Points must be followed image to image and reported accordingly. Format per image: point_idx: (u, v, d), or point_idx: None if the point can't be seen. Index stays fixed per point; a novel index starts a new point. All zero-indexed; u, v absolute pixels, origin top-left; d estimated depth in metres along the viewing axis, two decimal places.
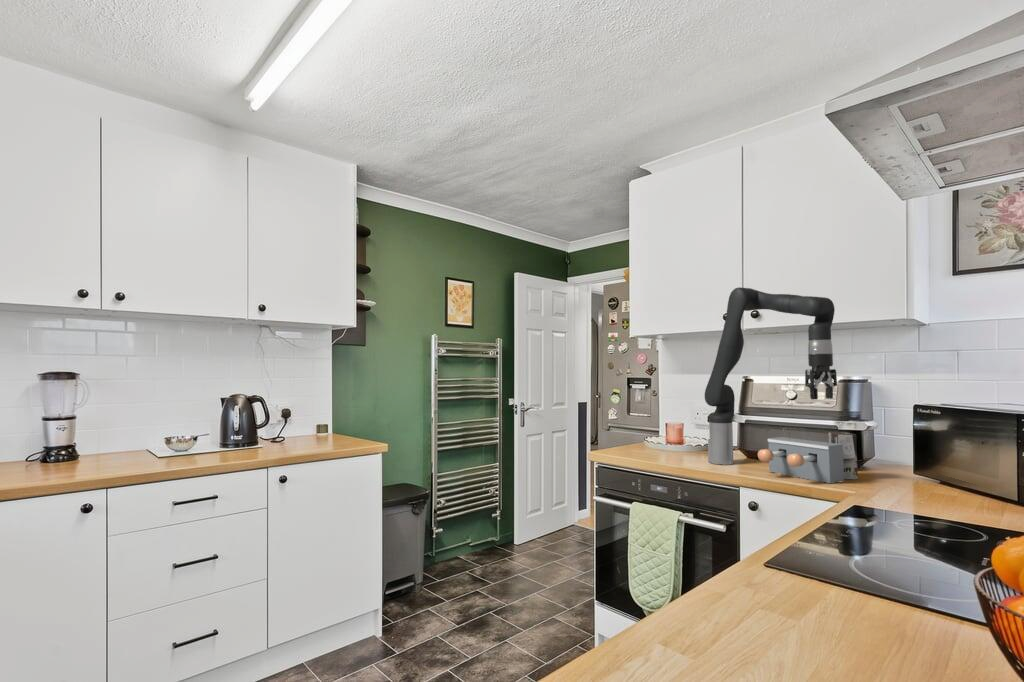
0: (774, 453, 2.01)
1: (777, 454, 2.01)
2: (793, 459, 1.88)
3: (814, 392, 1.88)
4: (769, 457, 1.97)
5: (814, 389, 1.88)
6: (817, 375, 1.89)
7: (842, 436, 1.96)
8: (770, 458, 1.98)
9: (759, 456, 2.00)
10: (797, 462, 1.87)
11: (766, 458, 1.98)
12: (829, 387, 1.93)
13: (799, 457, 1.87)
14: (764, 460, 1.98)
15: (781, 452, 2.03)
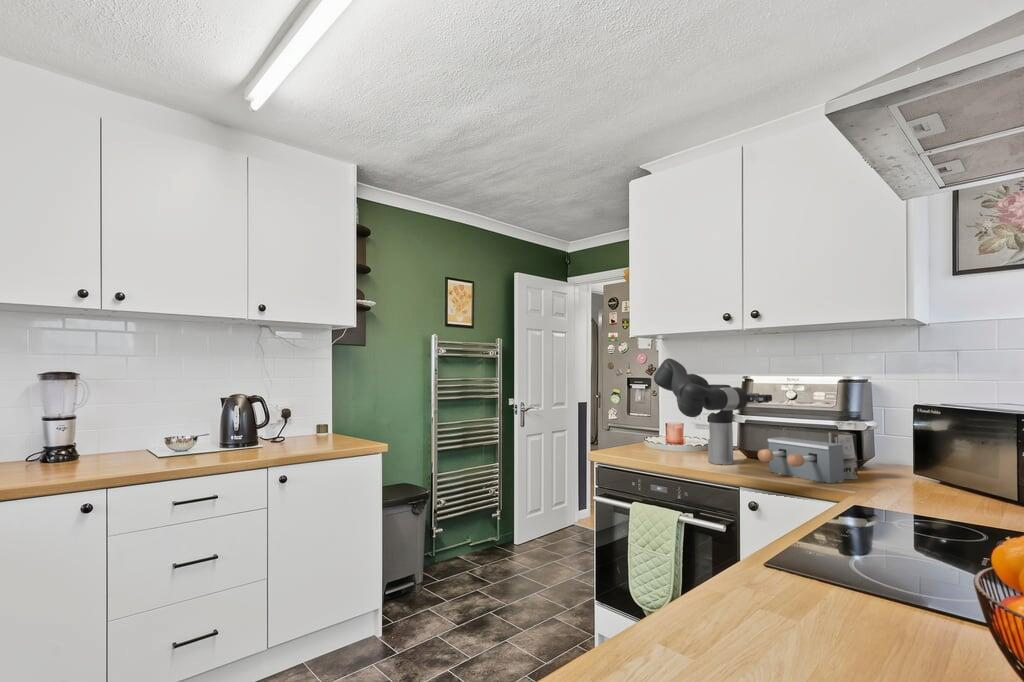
0: (774, 453, 2.01)
1: (777, 454, 2.01)
2: (793, 459, 1.88)
3: None
4: (769, 457, 1.97)
5: None
6: None
7: (842, 436, 1.96)
8: (770, 458, 1.98)
9: (759, 456, 2.00)
10: (797, 462, 1.87)
11: (766, 458, 1.98)
12: None
13: (799, 457, 1.87)
14: (764, 460, 1.98)
15: (781, 452, 2.03)
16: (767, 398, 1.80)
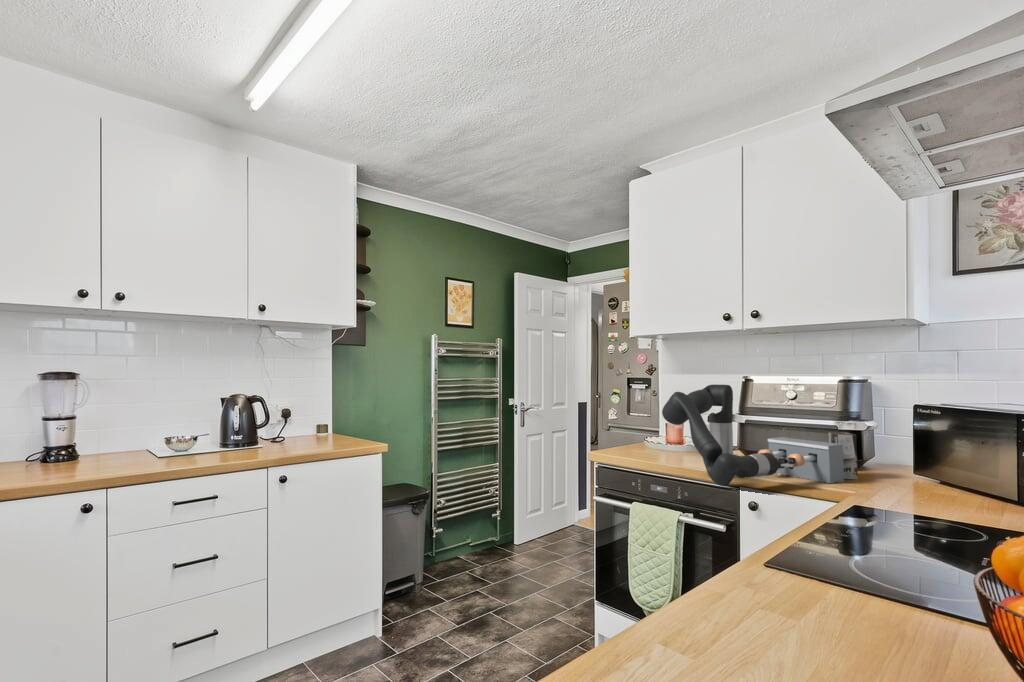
0: (774, 453, 2.01)
1: (777, 454, 2.01)
2: None
3: None
4: None
5: None
6: None
7: (842, 436, 1.96)
8: None
9: None
10: (797, 462, 1.87)
11: None
12: None
13: (799, 457, 1.87)
14: None
15: (781, 452, 2.03)
16: None
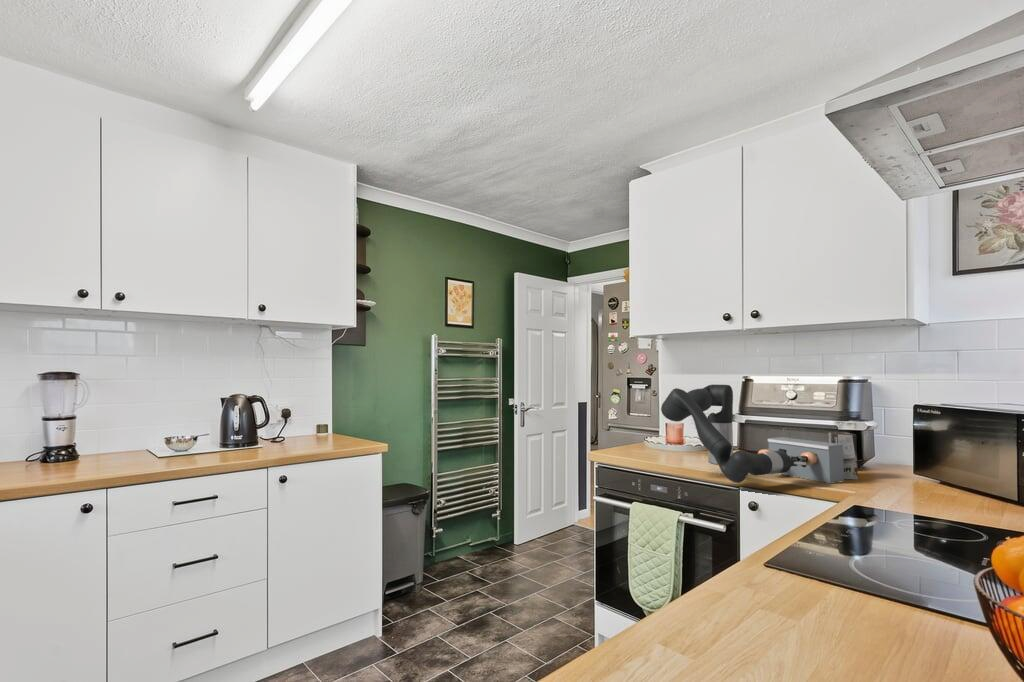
0: None
1: None
2: None
3: None
4: None
5: None
6: None
7: (842, 436, 1.96)
8: None
9: None
10: (810, 460, 1.90)
11: None
12: (797, 460, 1.89)
13: (812, 455, 1.90)
14: None
15: None
16: None
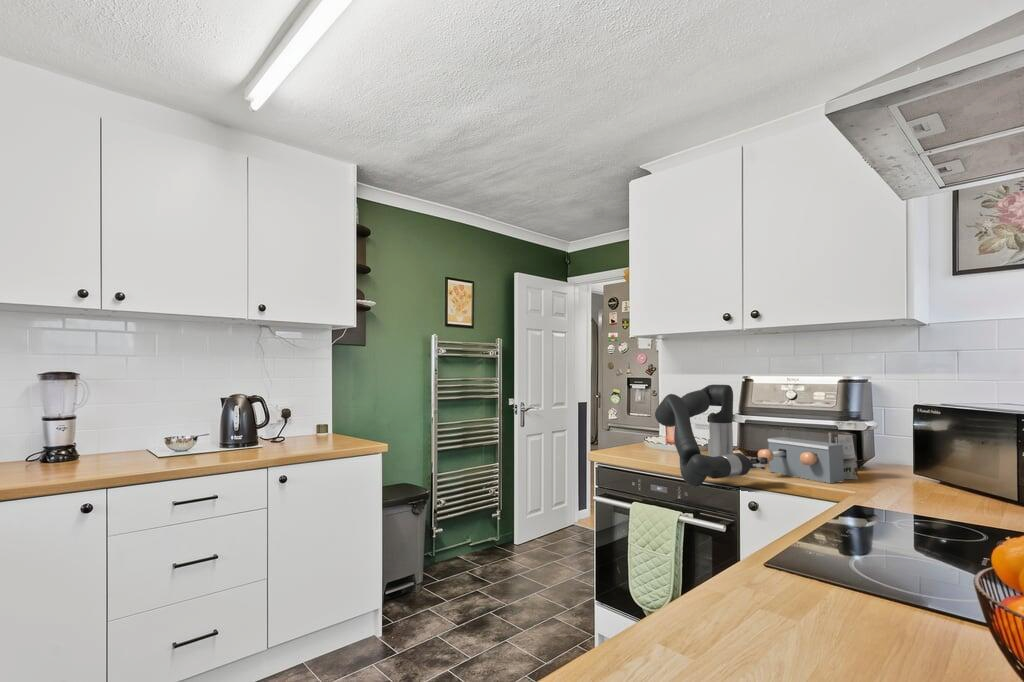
0: (774, 453, 2.01)
1: (777, 454, 2.01)
2: (806, 457, 1.91)
3: None
4: (769, 457, 1.97)
5: None
6: None
7: (842, 436, 1.96)
8: (770, 458, 1.98)
9: (759, 456, 2.00)
10: (810, 460, 1.90)
11: None
12: (757, 462, 1.88)
13: (812, 455, 1.90)
14: None
15: (781, 452, 2.03)
16: None
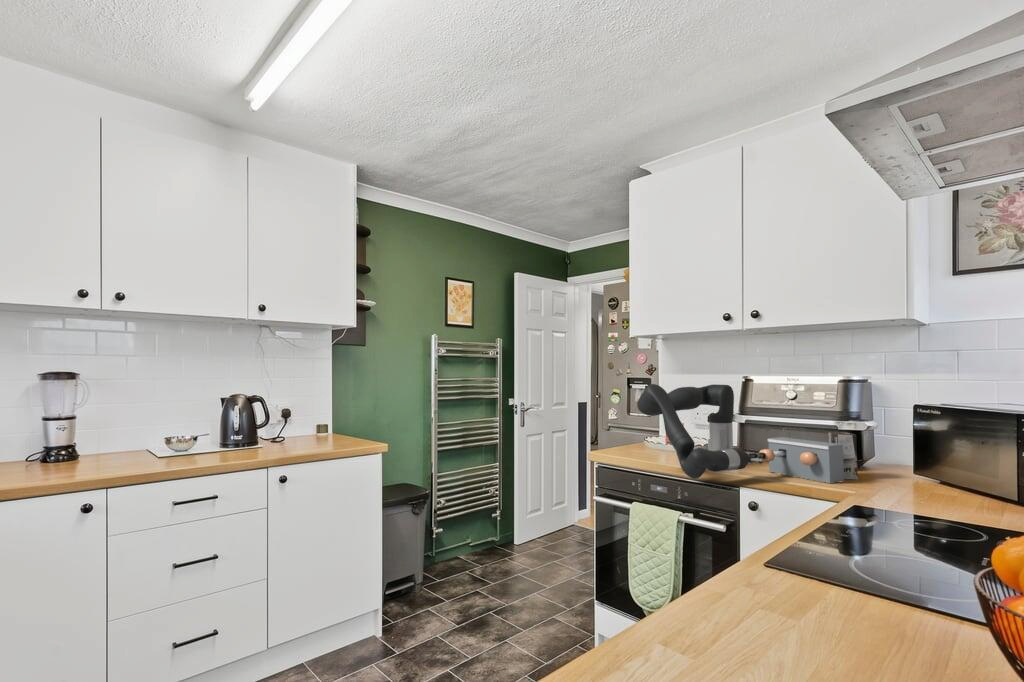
0: (775, 453, 2.01)
1: (778, 454, 2.01)
2: (806, 457, 1.91)
3: None
4: (770, 457, 1.98)
5: None
6: None
7: (842, 436, 1.96)
8: (771, 458, 1.98)
9: None
10: (810, 460, 1.90)
11: (767, 458, 1.98)
12: None
13: (812, 455, 1.90)
14: (765, 460, 1.99)
15: (782, 452, 2.03)
16: None
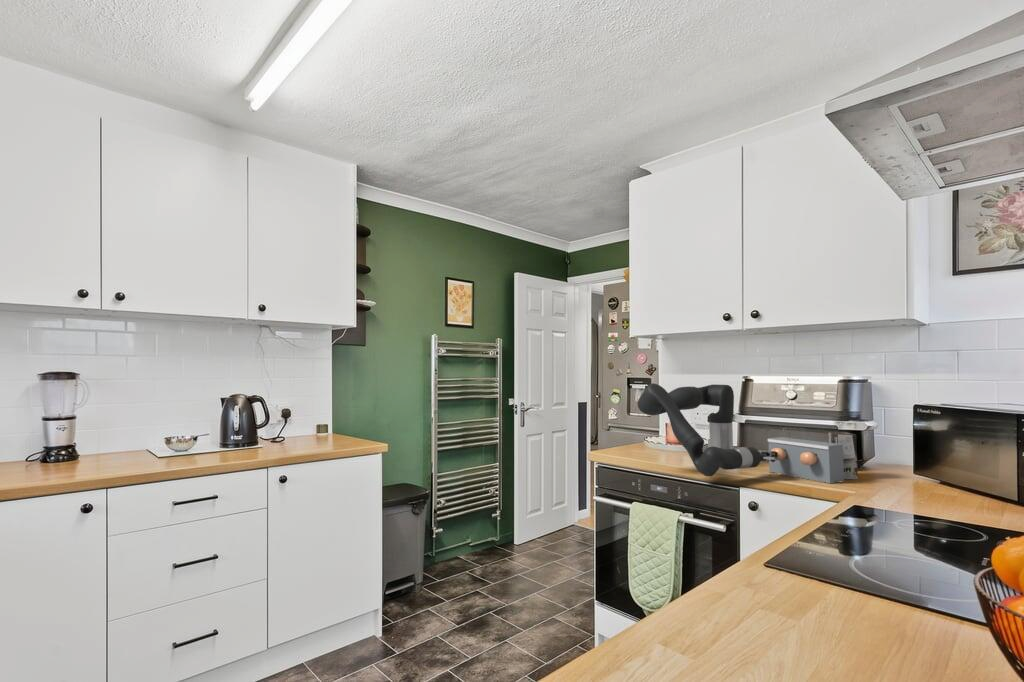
0: None
1: None
2: (806, 457, 1.91)
3: None
4: (782, 455, 2.01)
5: None
6: None
7: (842, 436, 1.96)
8: (783, 456, 2.01)
9: None
10: (810, 460, 1.90)
11: (779, 456, 2.01)
12: (767, 455, 2.00)
13: (812, 455, 1.90)
14: (777, 458, 2.01)
15: None
16: None
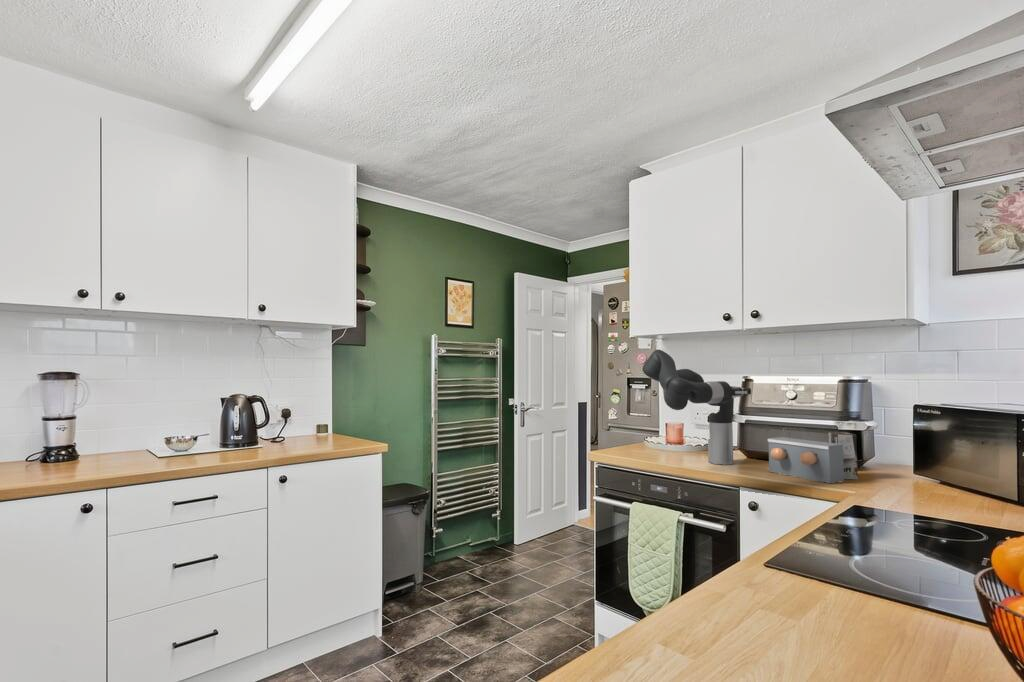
0: None
1: None
2: (806, 457, 1.91)
3: None
4: (782, 455, 2.00)
5: None
6: None
7: (842, 436, 1.96)
8: (783, 456, 2.01)
9: (772, 455, 2.03)
10: (810, 460, 1.90)
11: (779, 456, 2.01)
12: None
13: (812, 455, 1.90)
14: (777, 458, 2.01)
15: None
16: (746, 391, 1.88)
